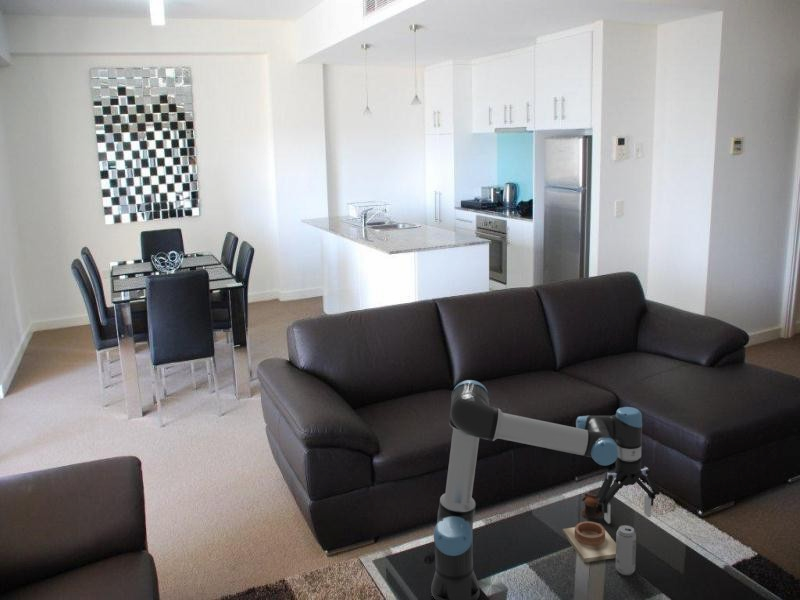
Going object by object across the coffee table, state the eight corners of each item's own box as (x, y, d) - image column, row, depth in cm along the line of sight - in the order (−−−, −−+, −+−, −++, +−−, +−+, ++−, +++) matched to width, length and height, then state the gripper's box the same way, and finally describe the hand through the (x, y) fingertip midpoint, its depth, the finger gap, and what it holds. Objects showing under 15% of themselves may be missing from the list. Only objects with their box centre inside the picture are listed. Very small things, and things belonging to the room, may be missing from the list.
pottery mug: (574, 513, 257) (577, 491, 259) (591, 517, 262) (595, 495, 263) (598, 519, 247) (601, 496, 249) (616, 523, 251) (619, 500, 253)
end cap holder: (584, 562, 227) (584, 550, 226) (562, 532, 245) (562, 521, 244) (623, 556, 229) (624, 544, 228) (599, 527, 247) (600, 516, 246)
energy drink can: (616, 563, 226) (617, 522, 222) (635, 566, 224) (636, 525, 220) (614, 574, 221) (615, 532, 217) (634, 577, 218) (635, 535, 215)
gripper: (595, 467, 207) (595, 530, 212) (672, 456, 211) (670, 518, 216) (585, 456, 215) (585, 517, 220) (659, 446, 218) (657, 506, 223)
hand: (627, 518), depth 218 cm, fingers open, 13 cm apart
